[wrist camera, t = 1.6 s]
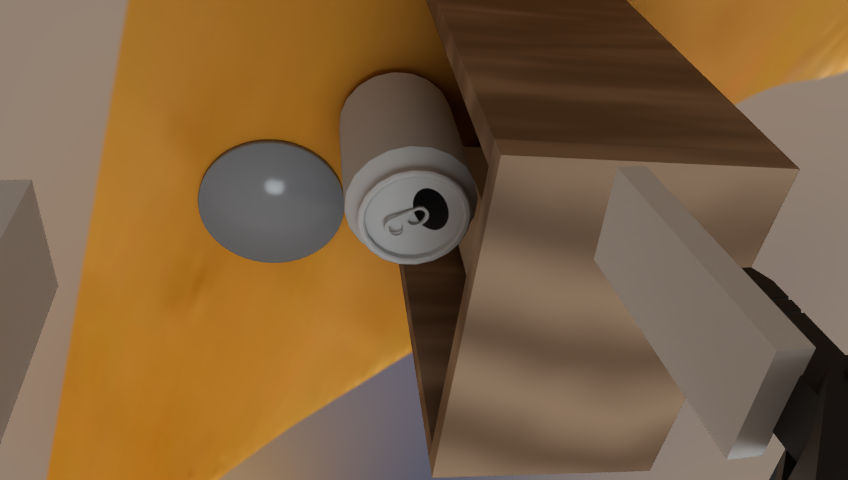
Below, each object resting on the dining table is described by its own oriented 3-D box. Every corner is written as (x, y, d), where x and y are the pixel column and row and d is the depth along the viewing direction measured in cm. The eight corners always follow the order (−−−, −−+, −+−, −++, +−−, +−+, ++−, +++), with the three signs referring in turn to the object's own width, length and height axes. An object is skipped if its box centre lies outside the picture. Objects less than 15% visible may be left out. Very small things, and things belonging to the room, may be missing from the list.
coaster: (194, 136, 47) (193, 140, 47) (348, 143, 49) (348, 147, 49) (203, 256, 53) (202, 261, 53) (339, 259, 55) (340, 264, 54)
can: (463, 144, 50) (499, 249, 41) (363, 181, 51) (375, 292, 42) (429, 49, 46) (460, 142, 36) (320, 91, 47) (322, 192, 37)
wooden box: (426, -26, 43) (501, 155, 26) (617, -8, 45) (800, 169, 28) (394, 235, 54) (432, 477, 37) (548, 239, 56) (649, 470, 40)
